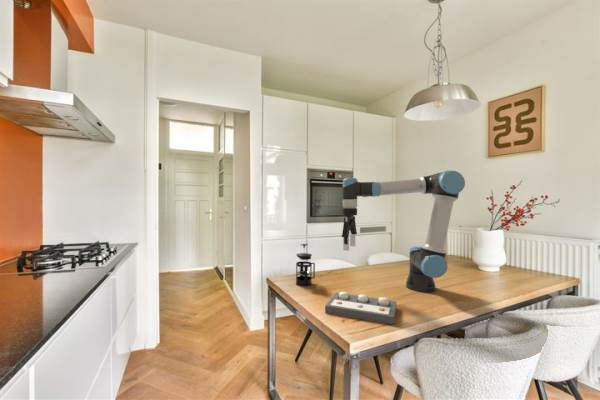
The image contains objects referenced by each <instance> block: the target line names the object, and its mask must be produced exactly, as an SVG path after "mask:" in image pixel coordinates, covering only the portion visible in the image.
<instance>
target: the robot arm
mask: <svg viewBox="0 0 600 400" xmlns="http://www.w3.org/2000/svg"><path fill="white" fill-rule="evenodd" d="M465 187H466V180H465V177H464V176H463V174H461V173H460V172H459V171H456V170H444V171H442V172H437V173H434V174H432V175H431V174H430V175H427V176H420V177H419V178H413V179H412V178H411V179H404V180H402V179H401V180H390V181H362V182H361V181H358V178H356V177H346V178H343V180H342V201H341V203H342V207H343V208H342V215H343V216H345V217H344V218H343V226H342V234H341V238H343V244H342V245H343V247H342V248H343V251H350V247H356V235H358V232H357V224H356V216H357V215H358V208H357V207H358V197H363V198H368V197H373V198H375V197H380V196H390V195H402V194H403V195H404V194H414V193H415V194H416V193H421V194H422V195H424V194H425V195H426V194H428V195H429V194H432V195H431V196H432V197H433V198H434V200H433V205H432V206H433V207H432V211H431V215H430V221H429V226H428V230H427V234H426V239H425V244H424V245H422V246H410V248H409V273H408V276H407V279H406V281H405V287H406V288H408V289H409V290H412V291H416V292H420V293H431V292H436V283H435V282H436V281H435V279H438V278H441V277H443V275H445V274H446V273H447V270H448V267H449V265H448V262H447V260H446V257H447V252H446V250H445V245H446V239H447V234H448V230H449V224H450V220H451V216H452V210H453V206H454V203H455V202H456V201H457V200H458V198H459V193H461V192H462V191H463V190H464V189H465ZM349 236H350V237H349Z"/></svg>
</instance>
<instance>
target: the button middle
mask: <svg viewBox="0 0 600 400" xmlns="http://www.w3.org/2000/svg"><path fill="white" fill-rule="evenodd" d="M357 296H358V302H364V303H368V297H369V295H367V294H362V293H361V294H358V295H357Z"/></svg>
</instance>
